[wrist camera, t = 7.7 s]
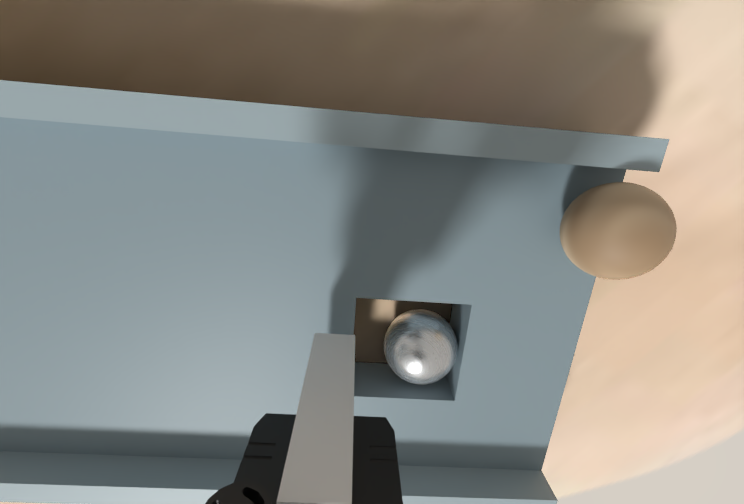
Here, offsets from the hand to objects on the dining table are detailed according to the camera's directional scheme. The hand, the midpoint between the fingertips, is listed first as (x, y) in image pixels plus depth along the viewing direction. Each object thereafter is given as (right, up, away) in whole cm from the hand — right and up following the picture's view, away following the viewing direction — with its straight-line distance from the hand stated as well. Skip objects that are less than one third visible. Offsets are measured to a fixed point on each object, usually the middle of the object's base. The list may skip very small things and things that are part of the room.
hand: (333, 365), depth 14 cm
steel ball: (+4, 0, +2) cm, 4 cm away
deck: (-3, +2, +3) cm, 5 cm away
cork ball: (+9, +5, -2) cm, 11 cm away
